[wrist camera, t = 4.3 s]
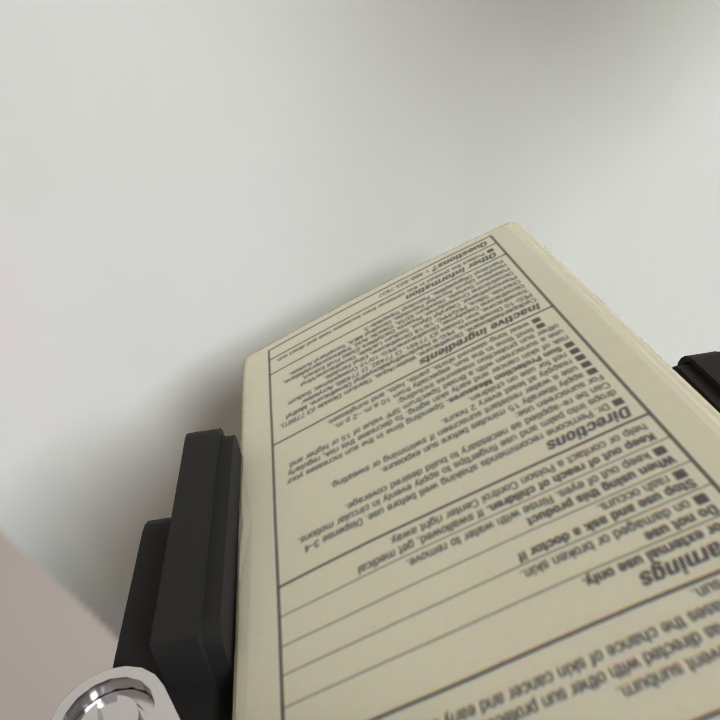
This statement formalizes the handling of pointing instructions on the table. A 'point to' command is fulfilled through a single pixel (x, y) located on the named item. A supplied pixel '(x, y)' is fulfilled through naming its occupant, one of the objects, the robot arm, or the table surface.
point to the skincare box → (476, 507)
